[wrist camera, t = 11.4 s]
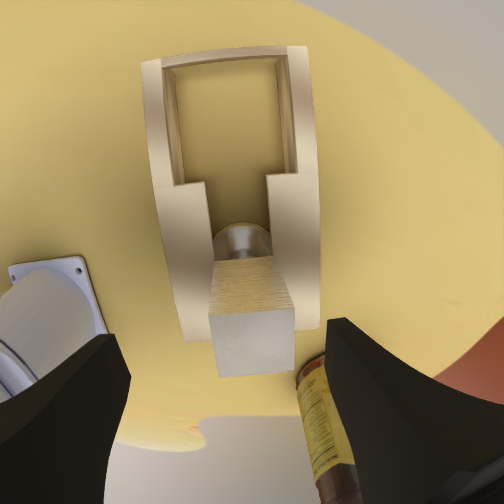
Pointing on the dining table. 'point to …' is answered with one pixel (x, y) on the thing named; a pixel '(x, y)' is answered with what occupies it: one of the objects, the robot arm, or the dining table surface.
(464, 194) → the dining table surface
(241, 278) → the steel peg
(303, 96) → the beige wooden frame
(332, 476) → the sauce bottle
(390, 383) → the robot arm
